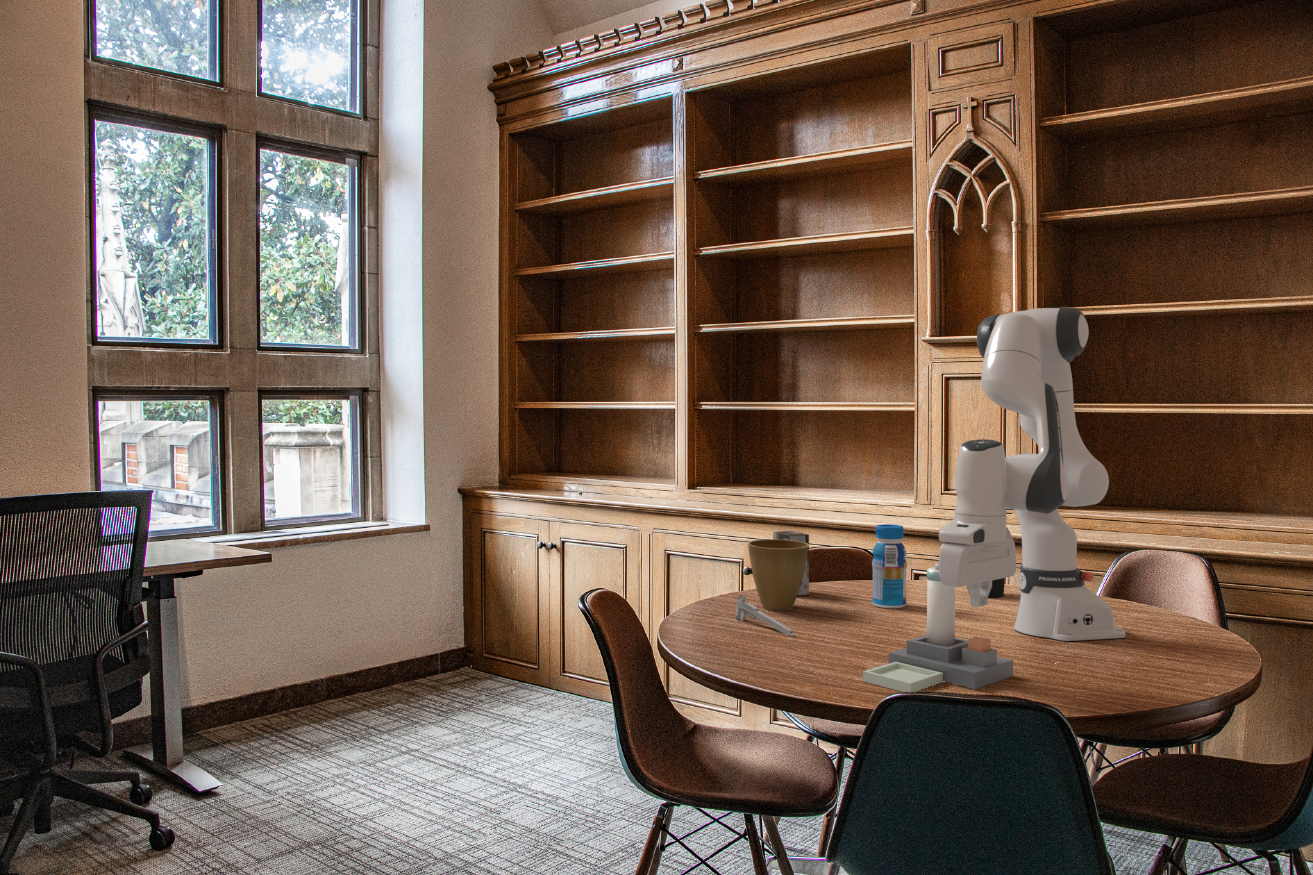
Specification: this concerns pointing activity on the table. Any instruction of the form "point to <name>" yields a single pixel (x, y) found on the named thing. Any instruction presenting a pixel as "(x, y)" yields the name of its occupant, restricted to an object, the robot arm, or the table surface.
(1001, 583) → the pen holder
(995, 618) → the table surface
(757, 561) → the plant pot
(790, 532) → the coffee box
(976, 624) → the table surface
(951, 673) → the housing
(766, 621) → the caliper
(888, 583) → the beverage bottle
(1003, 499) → the robot arm
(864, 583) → the table surface
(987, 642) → the plunger
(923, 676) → the tray
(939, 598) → the cartridge
